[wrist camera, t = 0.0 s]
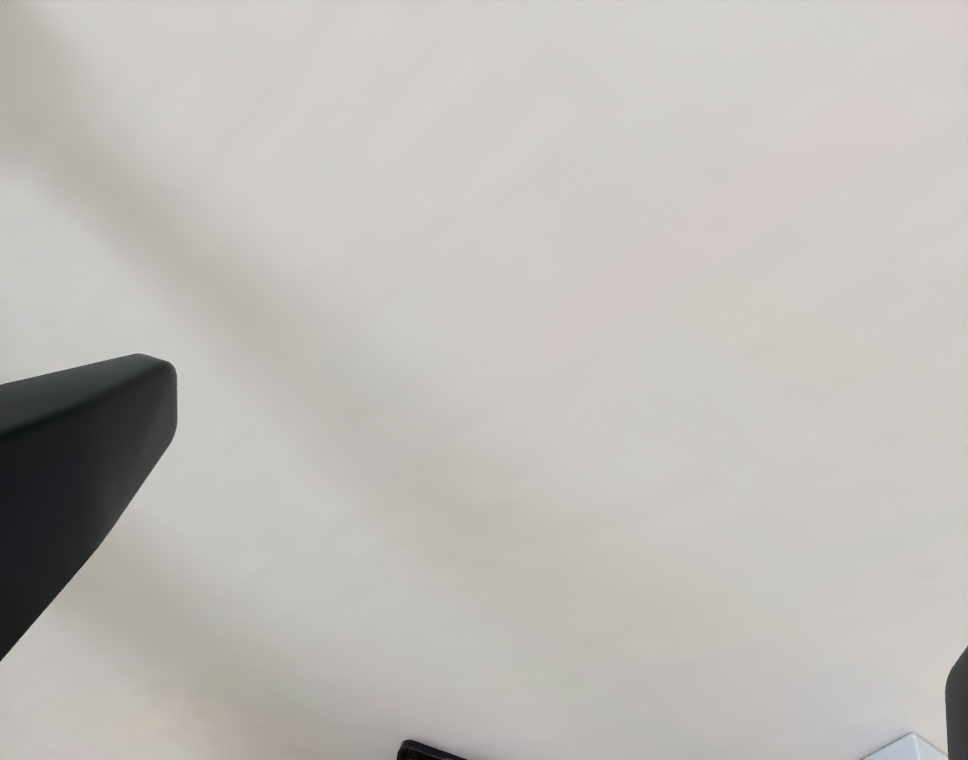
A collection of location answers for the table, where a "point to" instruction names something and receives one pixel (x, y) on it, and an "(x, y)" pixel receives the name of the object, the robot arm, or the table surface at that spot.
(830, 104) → the table surface
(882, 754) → the vintage mobile phone
